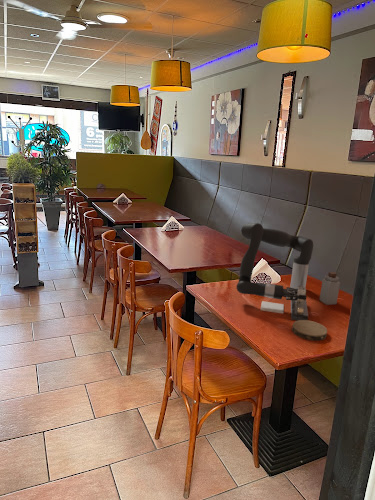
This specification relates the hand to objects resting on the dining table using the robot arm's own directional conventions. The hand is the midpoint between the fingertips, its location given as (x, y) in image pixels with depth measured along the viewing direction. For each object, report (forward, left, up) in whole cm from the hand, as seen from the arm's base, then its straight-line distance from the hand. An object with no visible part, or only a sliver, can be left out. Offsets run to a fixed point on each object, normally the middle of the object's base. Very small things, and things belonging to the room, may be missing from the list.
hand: (305, 295), depth 197 cm
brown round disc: (+23, -5, -10) cm, 26 cm away
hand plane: (-1, -3, -10) cm, 10 cm away
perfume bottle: (-17, +19, -10) cm, 27 cm away
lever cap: (-1, -3, -6) cm, 7 cm away
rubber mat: (-4, -16, -10) cm, 19 cm away
